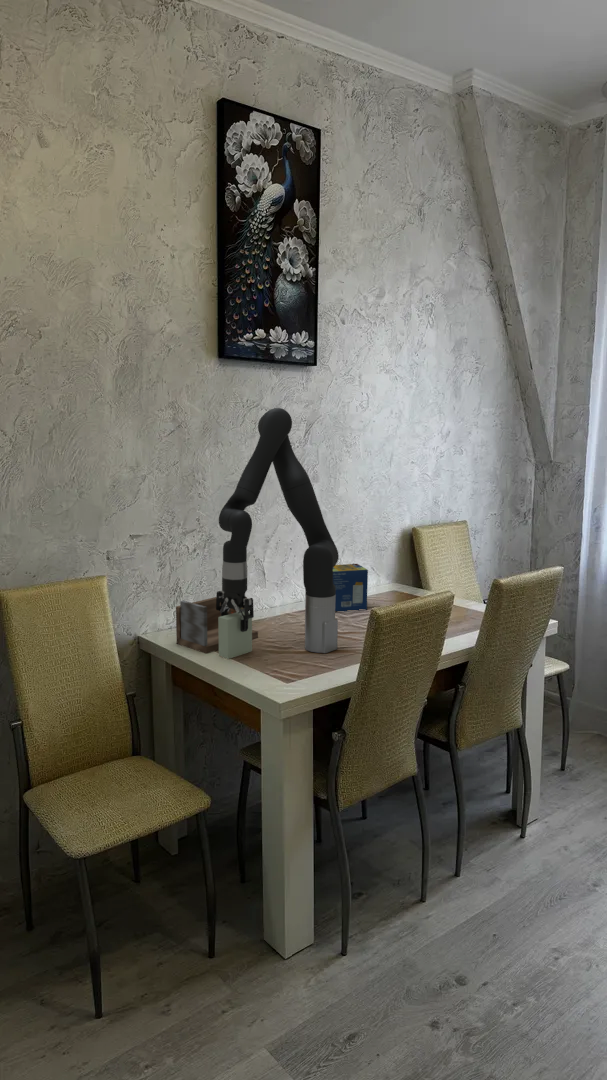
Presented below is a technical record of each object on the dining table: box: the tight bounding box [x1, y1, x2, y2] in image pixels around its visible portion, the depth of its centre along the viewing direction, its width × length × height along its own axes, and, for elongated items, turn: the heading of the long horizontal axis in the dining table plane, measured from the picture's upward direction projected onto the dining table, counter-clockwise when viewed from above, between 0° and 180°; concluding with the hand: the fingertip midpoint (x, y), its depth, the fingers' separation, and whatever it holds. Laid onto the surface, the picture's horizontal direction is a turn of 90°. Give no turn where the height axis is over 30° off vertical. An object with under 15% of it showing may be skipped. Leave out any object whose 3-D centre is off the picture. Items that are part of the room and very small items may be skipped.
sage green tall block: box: [218, 612, 253, 660], centre depth 225 cm, size 4×10×12 cm, turn 139°
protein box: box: [333, 563, 369, 612], centre depth 278 cm, size 10×15×16 cm
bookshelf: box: [175, 596, 259, 654], centre depth 238 cm, size 14×22×14 cm, turn 138°
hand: (234, 628), depth 226 cm, fingers open, 8 cm apart
